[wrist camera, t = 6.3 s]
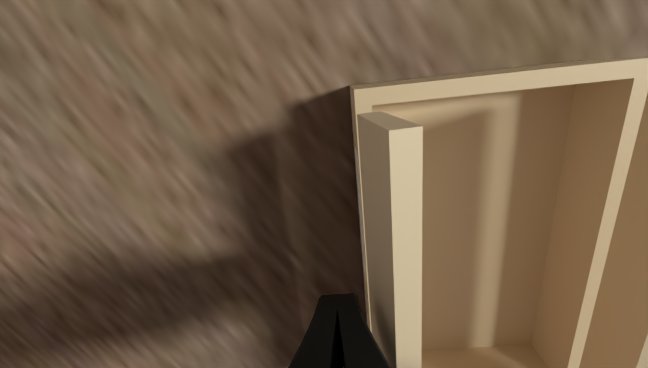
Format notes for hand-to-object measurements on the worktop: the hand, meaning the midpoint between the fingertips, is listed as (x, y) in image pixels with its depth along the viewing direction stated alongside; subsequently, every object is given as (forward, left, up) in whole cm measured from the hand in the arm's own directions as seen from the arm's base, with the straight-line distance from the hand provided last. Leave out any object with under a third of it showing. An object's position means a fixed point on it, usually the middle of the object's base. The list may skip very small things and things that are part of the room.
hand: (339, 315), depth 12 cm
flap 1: (-2, 0, +1) cm, 2 cm away
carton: (-6, 0, -5) cm, 8 cm away
